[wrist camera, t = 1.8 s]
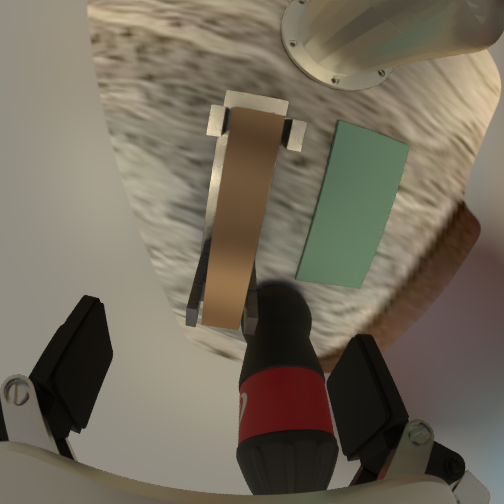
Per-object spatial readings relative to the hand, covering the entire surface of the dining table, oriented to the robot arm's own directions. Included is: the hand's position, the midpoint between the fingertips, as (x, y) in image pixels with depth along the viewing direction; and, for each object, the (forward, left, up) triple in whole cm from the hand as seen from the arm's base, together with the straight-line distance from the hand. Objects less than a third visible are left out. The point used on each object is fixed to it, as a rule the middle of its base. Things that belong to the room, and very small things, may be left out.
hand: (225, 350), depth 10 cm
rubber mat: (0, +13, -22) cm, 25 cm away
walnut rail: (0, 0, -12) cm, 12 cm away
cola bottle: (+14, +7, -22) cm, 26 cm away
